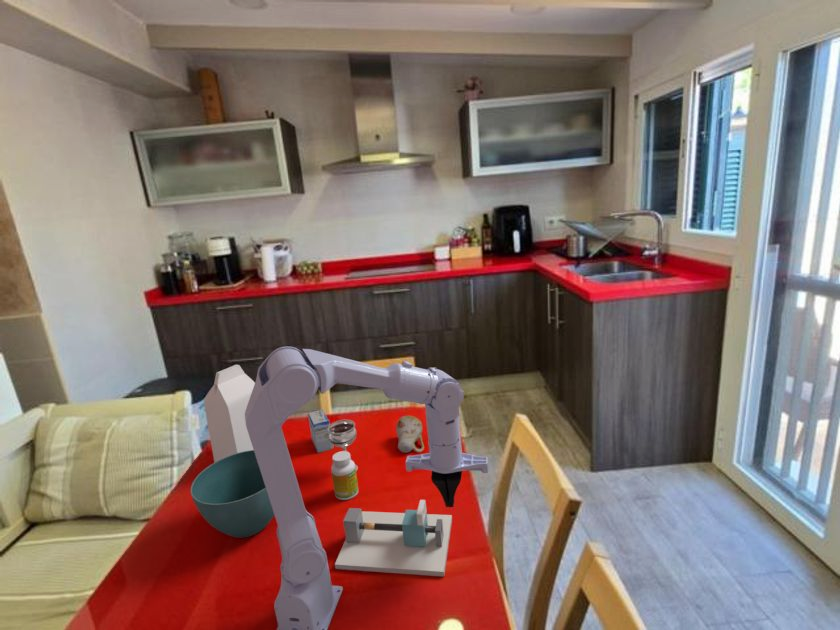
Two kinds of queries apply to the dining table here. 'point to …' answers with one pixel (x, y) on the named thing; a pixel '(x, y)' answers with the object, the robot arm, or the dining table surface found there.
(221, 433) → the milk
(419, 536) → the slider block
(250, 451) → the teal bowl
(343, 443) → the wineglass
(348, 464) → the supplement bottle
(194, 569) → the dining table surface
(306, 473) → the dining table surface
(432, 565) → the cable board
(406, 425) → the mug
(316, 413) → the medicine box
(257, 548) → the dining table surface
